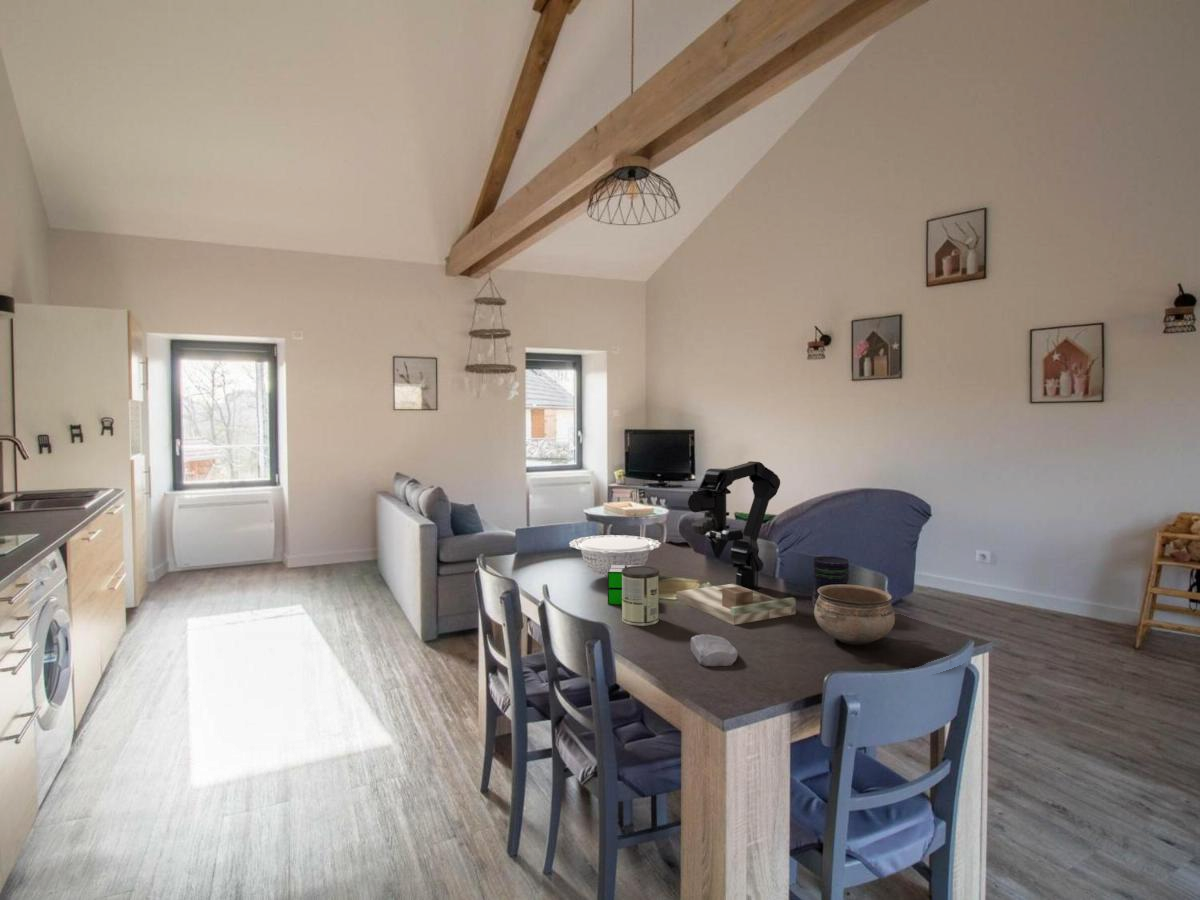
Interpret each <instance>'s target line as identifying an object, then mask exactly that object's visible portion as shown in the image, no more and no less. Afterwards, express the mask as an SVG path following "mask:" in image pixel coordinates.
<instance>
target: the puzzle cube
mask: <svg viewBox="0 0 1200 900" xmlns="http://www.w3.org/2000/svg"><path fill="white" fill-rule="evenodd" d="M609 566H610V565H609ZM631 566H638V564H637V565H636V564H634V565H627V566H626V565H611V566H610V568H609V571H608V576H607V605H609V606H610V605H611V606H622V569H623V568H626V567H631Z"/></svg>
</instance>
